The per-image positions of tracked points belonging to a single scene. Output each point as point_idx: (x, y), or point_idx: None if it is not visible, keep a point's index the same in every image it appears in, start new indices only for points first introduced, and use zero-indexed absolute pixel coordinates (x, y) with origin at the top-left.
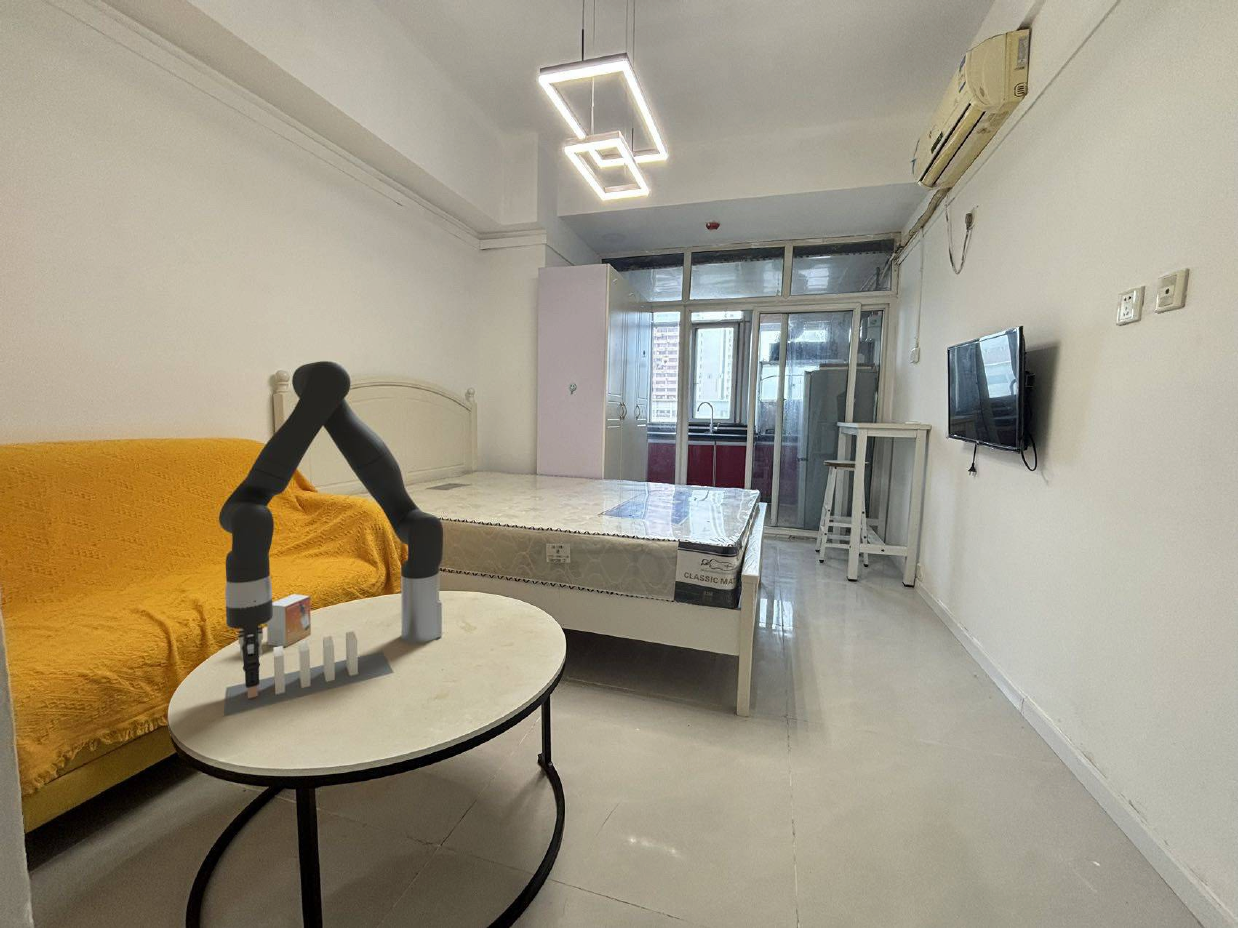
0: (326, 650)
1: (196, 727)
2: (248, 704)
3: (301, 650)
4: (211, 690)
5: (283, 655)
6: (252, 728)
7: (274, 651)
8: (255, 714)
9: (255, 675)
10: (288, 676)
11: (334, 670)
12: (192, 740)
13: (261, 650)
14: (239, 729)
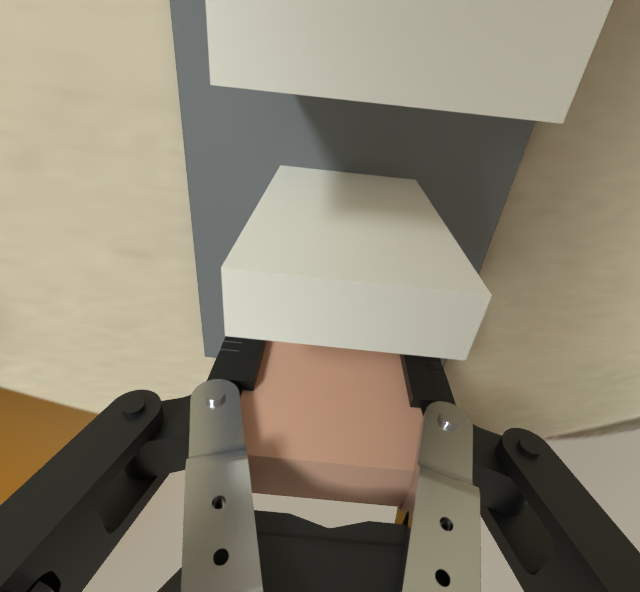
0: None
1: None
2: None
3: (539, 103)
4: (188, 382)
5: (491, 295)
6: (602, 318)
7: (331, 342)
8: (501, 299)
9: (445, 384)
10: (229, 132)
11: None
12: (502, 433)
13: (476, 515)
14: (564, 348)
